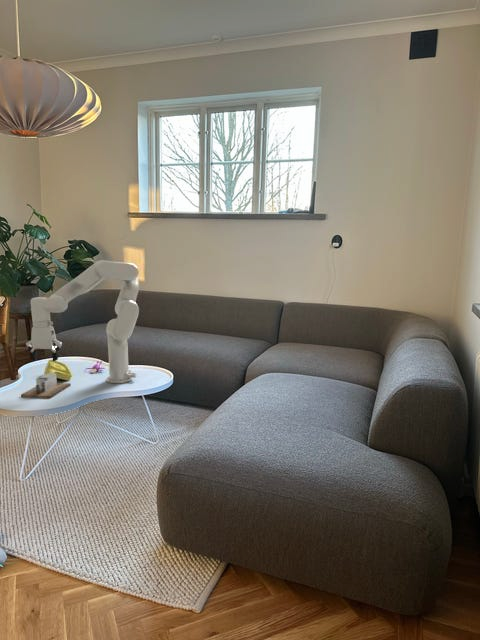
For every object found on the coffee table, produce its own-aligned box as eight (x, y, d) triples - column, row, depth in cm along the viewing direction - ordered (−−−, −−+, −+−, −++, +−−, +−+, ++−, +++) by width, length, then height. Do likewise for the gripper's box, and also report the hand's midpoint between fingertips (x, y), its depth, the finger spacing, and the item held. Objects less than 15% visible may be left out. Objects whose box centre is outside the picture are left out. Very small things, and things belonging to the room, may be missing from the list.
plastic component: (73, 376, 216) (52, 370, 210) (66, 389, 216) (46, 384, 210) (66, 363, 233) (47, 358, 227) (60, 376, 233) (41, 371, 227)
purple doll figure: (108, 359, 237) (101, 371, 226) (110, 364, 238) (102, 376, 227) (89, 360, 238) (81, 372, 227) (90, 364, 239) (82, 377, 228)
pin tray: (70, 385, 208) (69, 375, 207) (50, 398, 190) (49, 387, 189) (43, 384, 209) (43, 374, 209) (21, 397, 192) (20, 386, 191)
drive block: (57, 385, 205) (56, 373, 204) (45, 392, 195) (44, 379, 194) (49, 385, 205) (48, 373, 204) (37, 391, 195) (36, 379, 194)
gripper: (64, 322, 197) (67, 358, 200) (29, 322, 199) (33, 357, 202) (55, 325, 190) (58, 362, 193) (19, 325, 192) (23, 362, 195)
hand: (45, 360), depth 198 cm, fingers open, 9 cm apart
